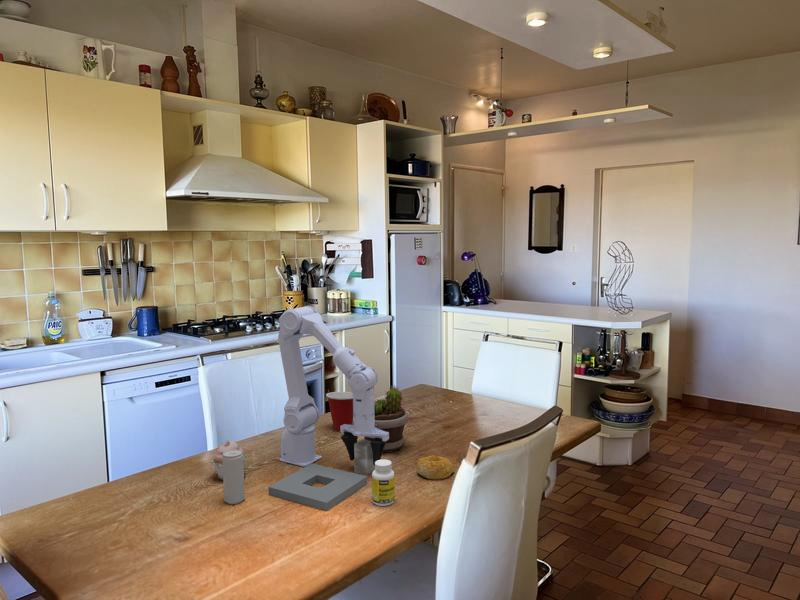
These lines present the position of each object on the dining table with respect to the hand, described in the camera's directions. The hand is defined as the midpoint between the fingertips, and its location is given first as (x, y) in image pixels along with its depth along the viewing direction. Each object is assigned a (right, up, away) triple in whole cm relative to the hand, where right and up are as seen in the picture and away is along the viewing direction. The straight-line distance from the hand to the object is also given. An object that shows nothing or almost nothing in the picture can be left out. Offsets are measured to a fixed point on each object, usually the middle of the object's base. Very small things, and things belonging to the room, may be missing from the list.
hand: (364, 461), depth 155 cm
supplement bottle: (+6, -5, -18) cm, 19 cm away
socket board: (-11, -4, -11) cm, 16 cm away
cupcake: (-36, -4, -2) cm, 36 cm away
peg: (0, -3, 0) cm, 3 cm away
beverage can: (-31, -5, -16) cm, 35 cm away
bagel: (+19, -3, -1) cm, 19 cm away
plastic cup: (-9, +1, +36) cm, 37 cm away
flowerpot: (+5, -1, +18) cm, 19 cm away
